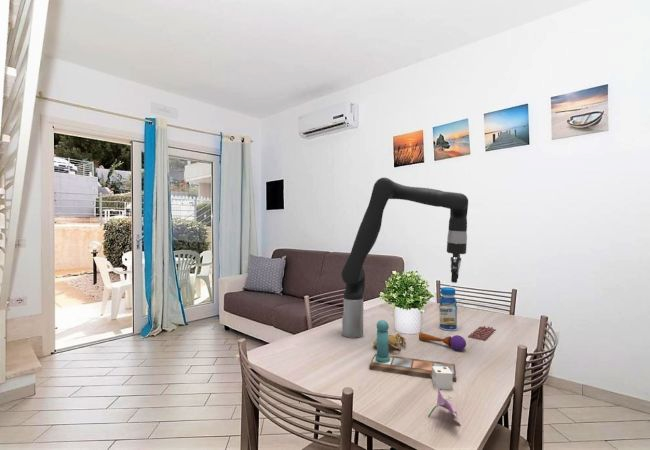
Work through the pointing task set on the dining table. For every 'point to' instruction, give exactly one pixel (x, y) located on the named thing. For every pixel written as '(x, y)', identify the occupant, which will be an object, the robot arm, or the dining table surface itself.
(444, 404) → the lily
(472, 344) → the dining table surface
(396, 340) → the crab model
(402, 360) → the board
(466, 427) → the dining table surface
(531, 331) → the dining table surface
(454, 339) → the kendama
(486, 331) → the chocolate bar
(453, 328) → the beverage bottle
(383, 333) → the pawn
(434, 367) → the die
